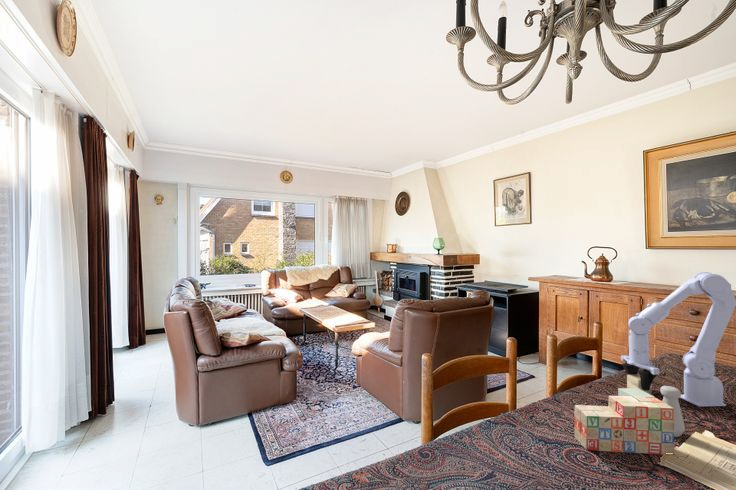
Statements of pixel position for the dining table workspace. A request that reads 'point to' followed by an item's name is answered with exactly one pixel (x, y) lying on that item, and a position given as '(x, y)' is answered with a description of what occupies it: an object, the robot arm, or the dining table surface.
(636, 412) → the stack of blocks
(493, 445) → the dining table surface
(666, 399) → the salt shaker
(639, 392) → the base block
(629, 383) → the maple cube
